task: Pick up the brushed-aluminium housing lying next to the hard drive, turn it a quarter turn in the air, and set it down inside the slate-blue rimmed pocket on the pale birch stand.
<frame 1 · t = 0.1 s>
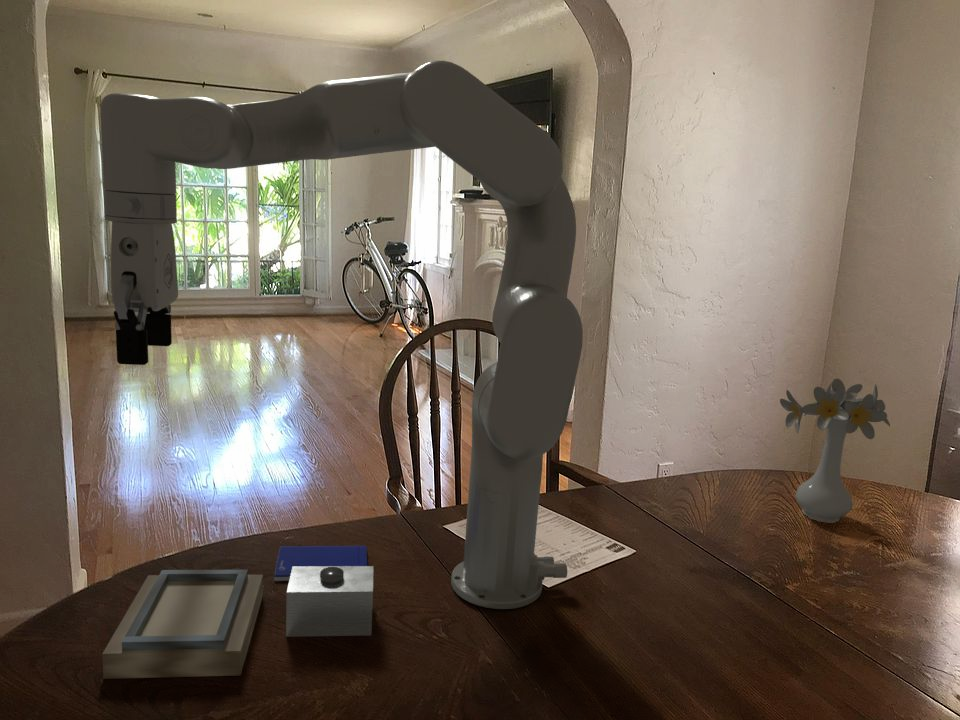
hand: (146, 354, 88), 31 cm above the table, tool pointing down, fingers open, 9 cm apart
hard drive: (322, 569, 104), on the table
flower vase: (818, 518, 132), on the table
housing: (330, 622, 91), on the table
stand: (191, 633, 87), on the table
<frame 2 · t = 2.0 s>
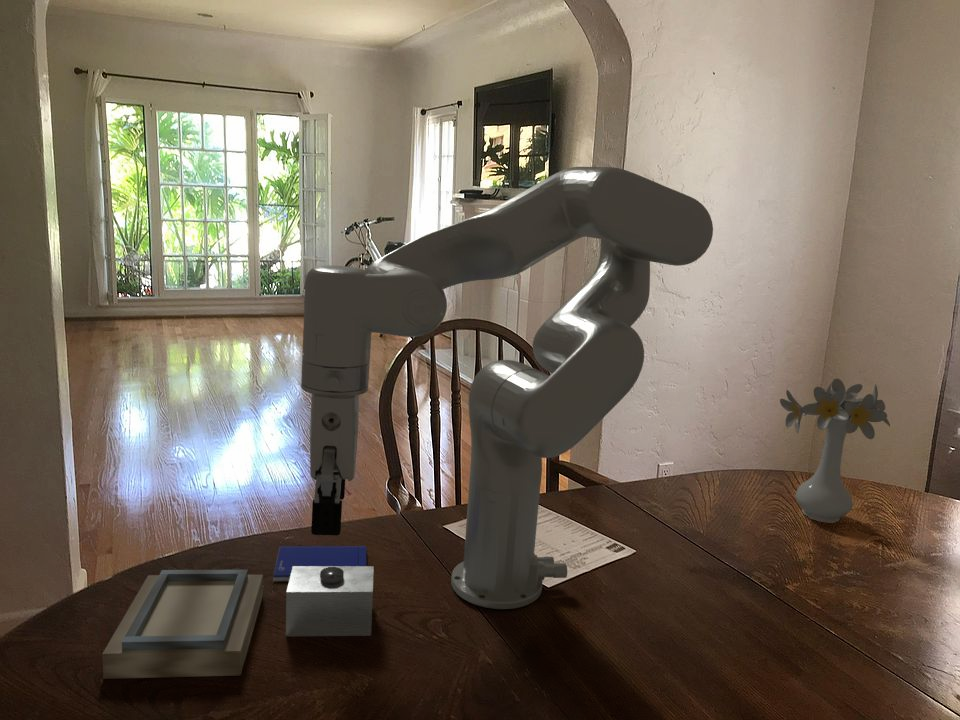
hand: (328, 515, 87), 14 cm above the table, tool pointing down, fingers open, 9 cm apart
nothing on the table moved.
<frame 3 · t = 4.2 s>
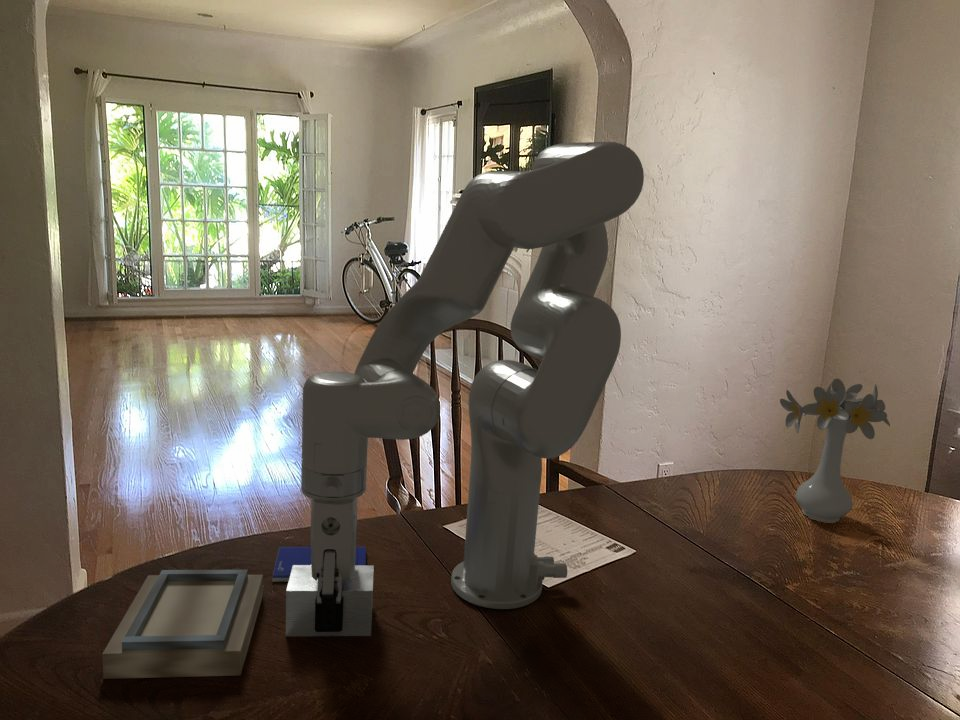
hand: (330, 613, 91), 1 cm above the table, tool pointing down, fingers closed on housing, 6 cm apart
housing: (330, 621, 91), on the table, touching gripper
everything else where it was.
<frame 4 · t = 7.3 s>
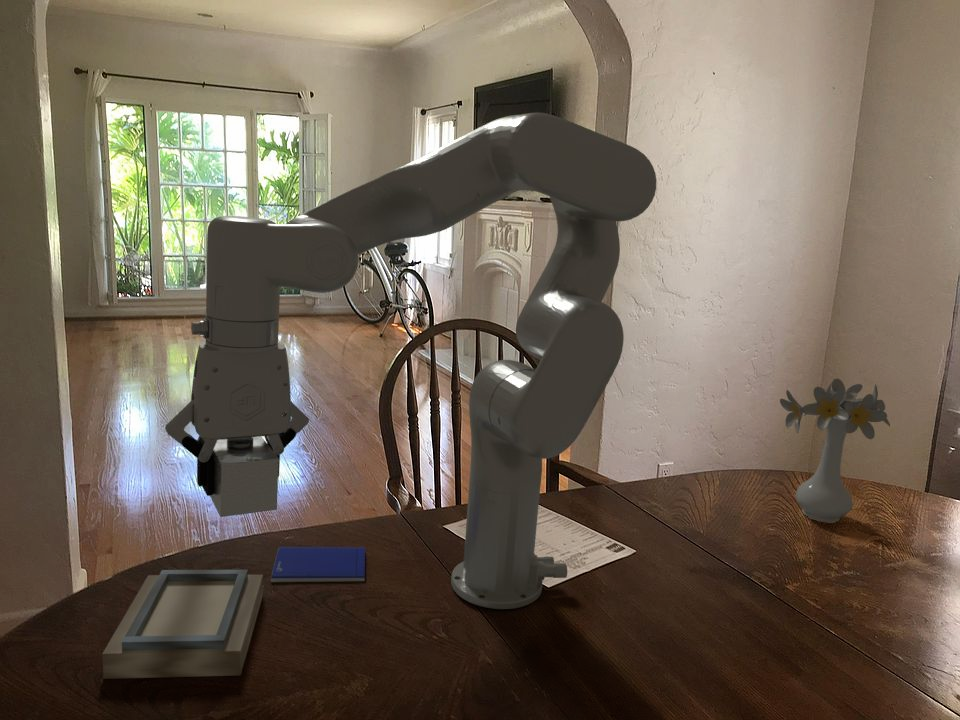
hand: (238, 486, 84), 18 cm above the table, tool pointing down, fingers closed on housing, 6 cm apart
housing: (238, 495, 84), point 17 cm above the table, touching gripper
everything else where it was.
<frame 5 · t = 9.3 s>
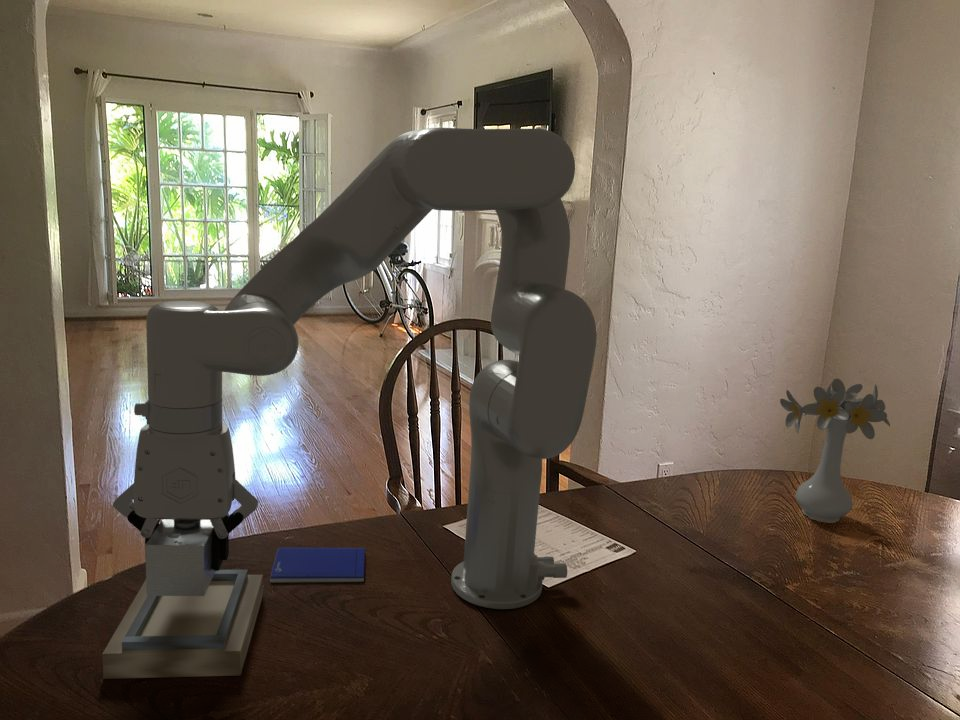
hand: (187, 563, 85), 9 cm above the table, tool pointing down, fingers closed on housing, 6 cm apart
housing: (187, 572, 85), point 8 cm above the table, touching gripper
everything else where it was.
when the fingers open (5 cm above the table, at t = 10.9 s): housing drops 1 cm, resting on stand.
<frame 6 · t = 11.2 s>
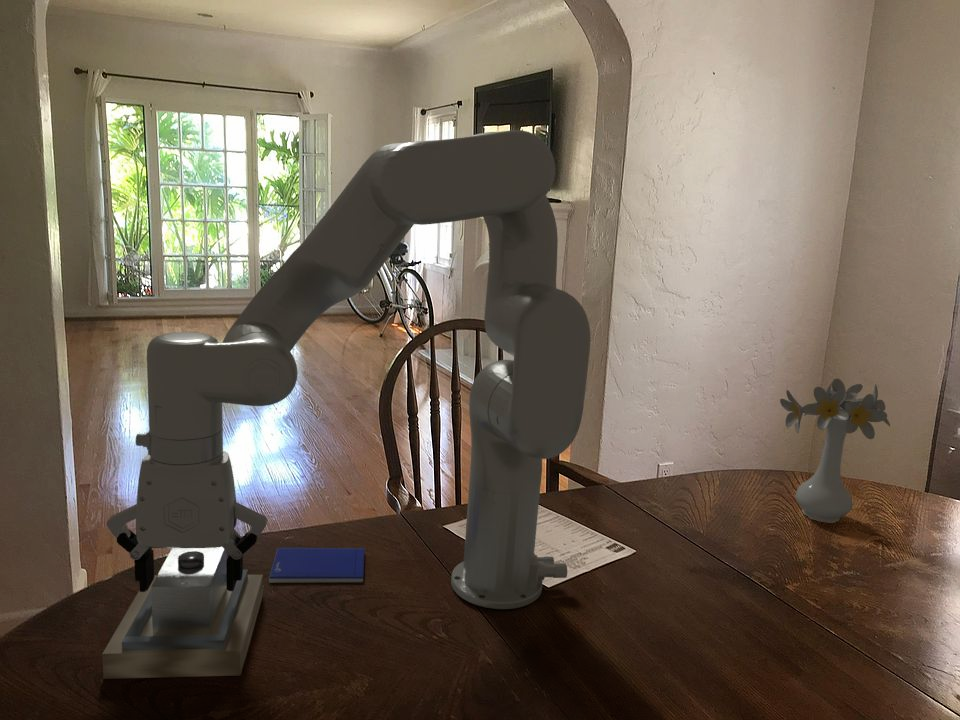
hand: (190, 585, 85), 6 cm above the table, tool pointing down, fingers open, 9 cm apart
housing: (192, 610, 86), point 3 cm above the table, touching stand
everything else where it was.
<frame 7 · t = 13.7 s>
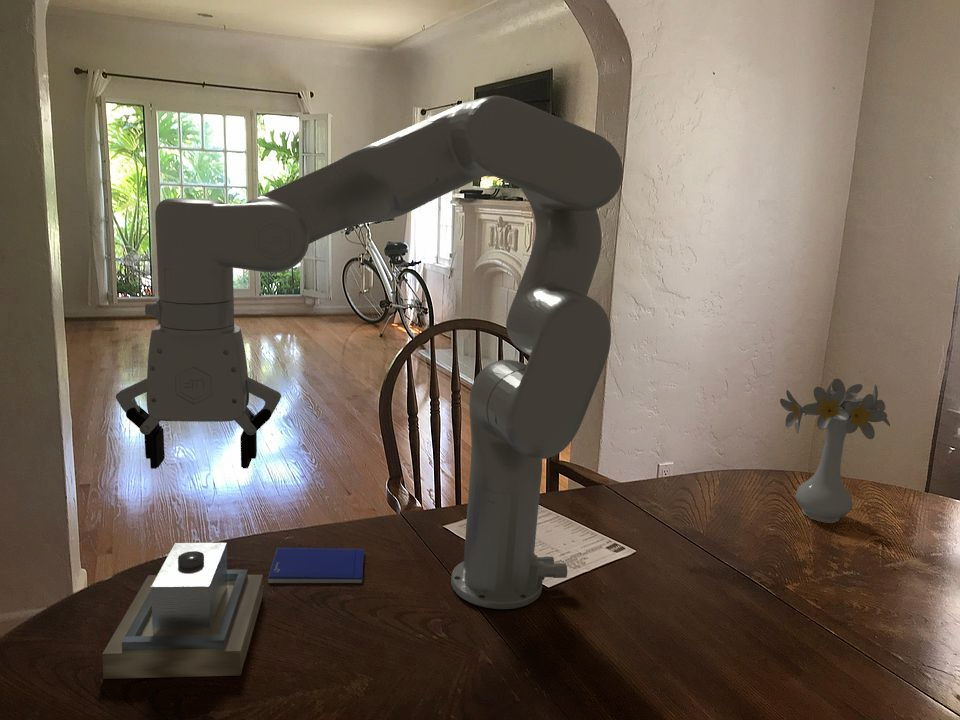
hand: (202, 464, 84), 21 cm above the table, tool pointing down, fingers open, 9 cm apart
nothing on the table moved.
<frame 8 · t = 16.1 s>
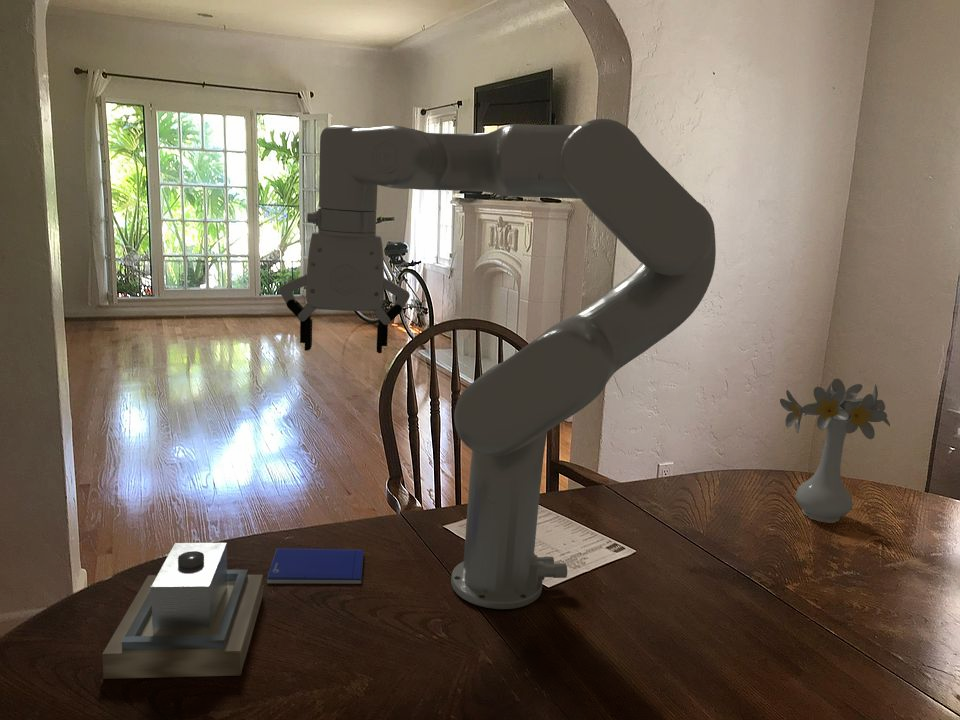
hand: (343, 349, 101), 30 cm above the table, tool pointing down, fingers open, 9 cm apart
at the end: housing 0.2 cm off-centre on the stand, point 3.0 cm above the stand's base; housing tilted 0°; the gripper is holding nothing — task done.
